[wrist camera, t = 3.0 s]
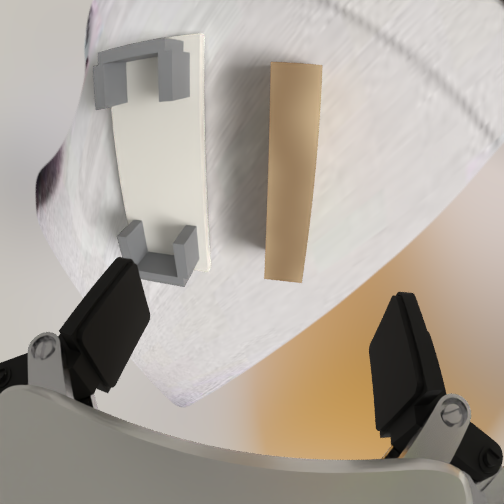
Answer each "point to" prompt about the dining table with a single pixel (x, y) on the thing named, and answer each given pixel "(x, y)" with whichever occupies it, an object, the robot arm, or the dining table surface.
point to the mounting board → (159, 152)
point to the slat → (291, 166)
